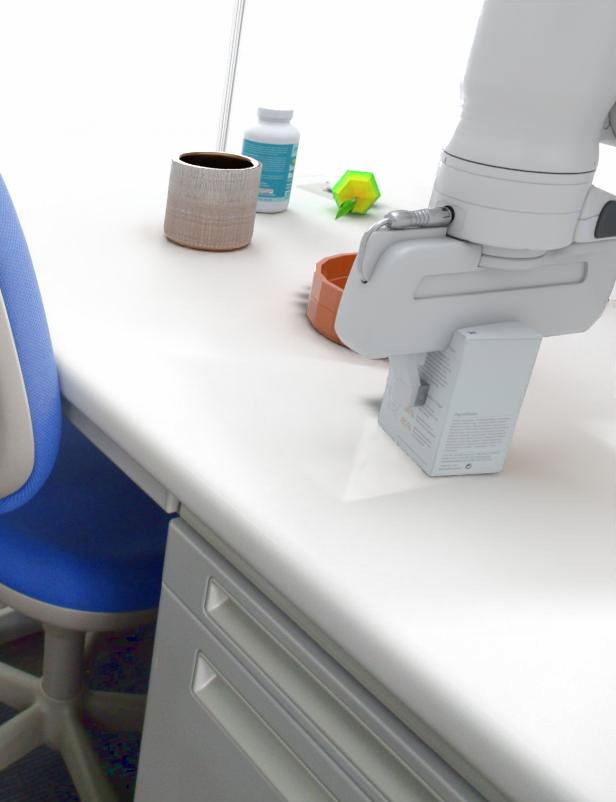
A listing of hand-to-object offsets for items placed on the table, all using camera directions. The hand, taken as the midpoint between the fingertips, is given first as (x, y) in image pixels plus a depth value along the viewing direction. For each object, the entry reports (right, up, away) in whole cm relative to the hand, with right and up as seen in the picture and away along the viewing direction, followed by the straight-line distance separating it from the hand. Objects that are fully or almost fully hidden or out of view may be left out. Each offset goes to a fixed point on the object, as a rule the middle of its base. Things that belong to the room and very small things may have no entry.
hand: (449, 397), depth 62 cm
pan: (+4, +7, +22) cm, 24 cm away
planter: (-10, +20, +46) cm, 51 cm away
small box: (0, -4, +2) cm, 4 cm away
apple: (+12, +26, +59) cm, 66 cm away
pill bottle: (-1, +27, +60) cm, 66 cm away
